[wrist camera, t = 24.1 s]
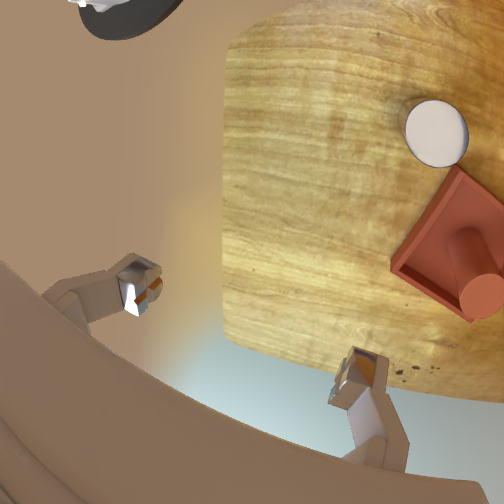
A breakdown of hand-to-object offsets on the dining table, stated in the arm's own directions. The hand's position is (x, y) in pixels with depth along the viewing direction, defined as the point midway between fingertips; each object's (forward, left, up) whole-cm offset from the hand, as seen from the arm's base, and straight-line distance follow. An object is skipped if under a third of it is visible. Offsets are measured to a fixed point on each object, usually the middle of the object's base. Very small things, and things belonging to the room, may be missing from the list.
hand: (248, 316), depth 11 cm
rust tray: (+18, +7, -27) cm, 33 cm away
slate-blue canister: (+2, +10, -27) cm, 29 cm away
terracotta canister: (+18, +7, -26) cm, 33 cm away
